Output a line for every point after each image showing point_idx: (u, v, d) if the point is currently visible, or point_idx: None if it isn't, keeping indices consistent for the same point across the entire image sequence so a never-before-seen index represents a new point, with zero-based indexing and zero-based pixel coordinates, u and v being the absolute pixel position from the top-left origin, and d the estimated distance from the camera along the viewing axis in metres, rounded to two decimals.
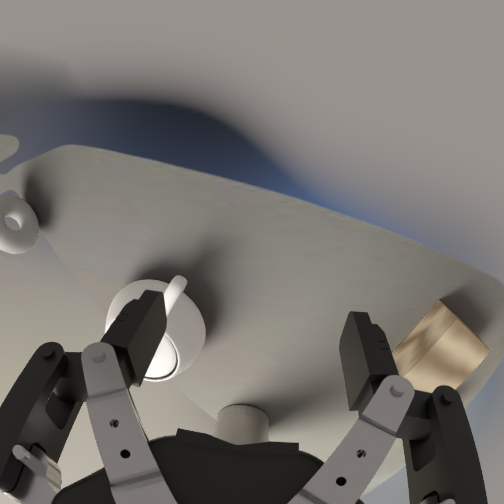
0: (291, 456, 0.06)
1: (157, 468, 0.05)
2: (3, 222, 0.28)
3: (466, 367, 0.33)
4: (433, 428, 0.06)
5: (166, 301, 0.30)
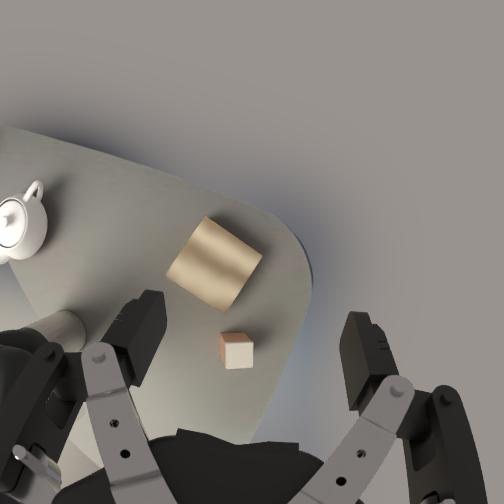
0: (291, 456, 0.06)
1: (157, 468, 0.05)
2: None
3: (238, 268, 0.54)
4: (433, 428, 0.06)
5: (30, 189, 0.42)
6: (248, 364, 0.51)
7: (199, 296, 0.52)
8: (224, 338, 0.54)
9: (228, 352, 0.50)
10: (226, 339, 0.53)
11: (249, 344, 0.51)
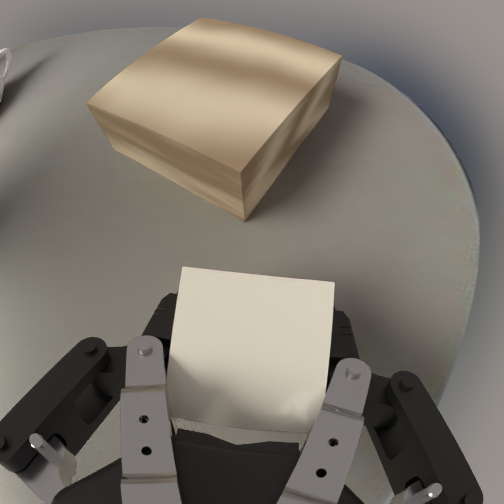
0: (291, 456, 0.06)
1: (174, 471, 0.05)
2: None
3: (281, 68, 0.16)
4: (398, 416, 0.07)
5: None
6: (296, 413, 0.08)
7: (157, 127, 0.14)
8: None
9: (186, 320, 0.09)
10: None
11: (312, 289, 0.09)
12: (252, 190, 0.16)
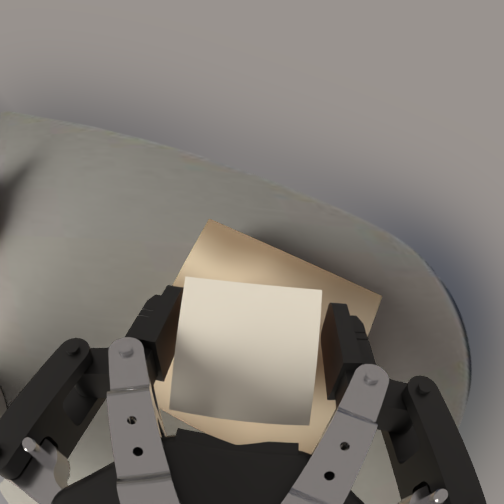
0: (291, 456, 0.06)
1: (168, 469, 0.05)
2: None
3: None
4: (413, 420, 0.07)
5: None
6: (288, 407, 0.09)
7: (221, 436, 0.15)
8: None
9: (189, 324, 0.10)
10: None
11: (302, 296, 0.10)
12: None
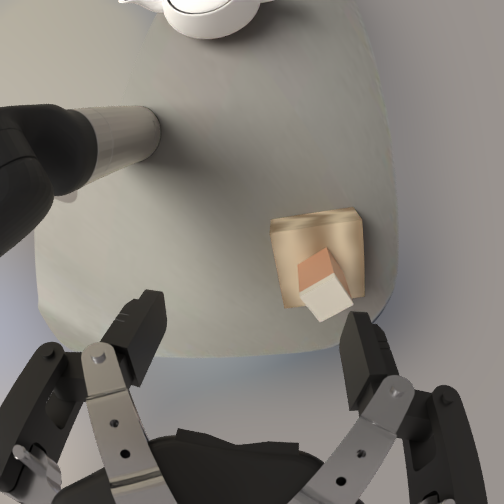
0: (291, 456, 0.06)
1: (157, 468, 0.05)
2: None
3: None
4: (433, 428, 0.06)
5: None
6: (321, 316, 0.36)
7: (280, 278, 0.43)
8: (331, 263, 0.36)
9: (324, 286, 0.34)
10: (333, 267, 0.36)
11: (349, 301, 0.34)
12: None
